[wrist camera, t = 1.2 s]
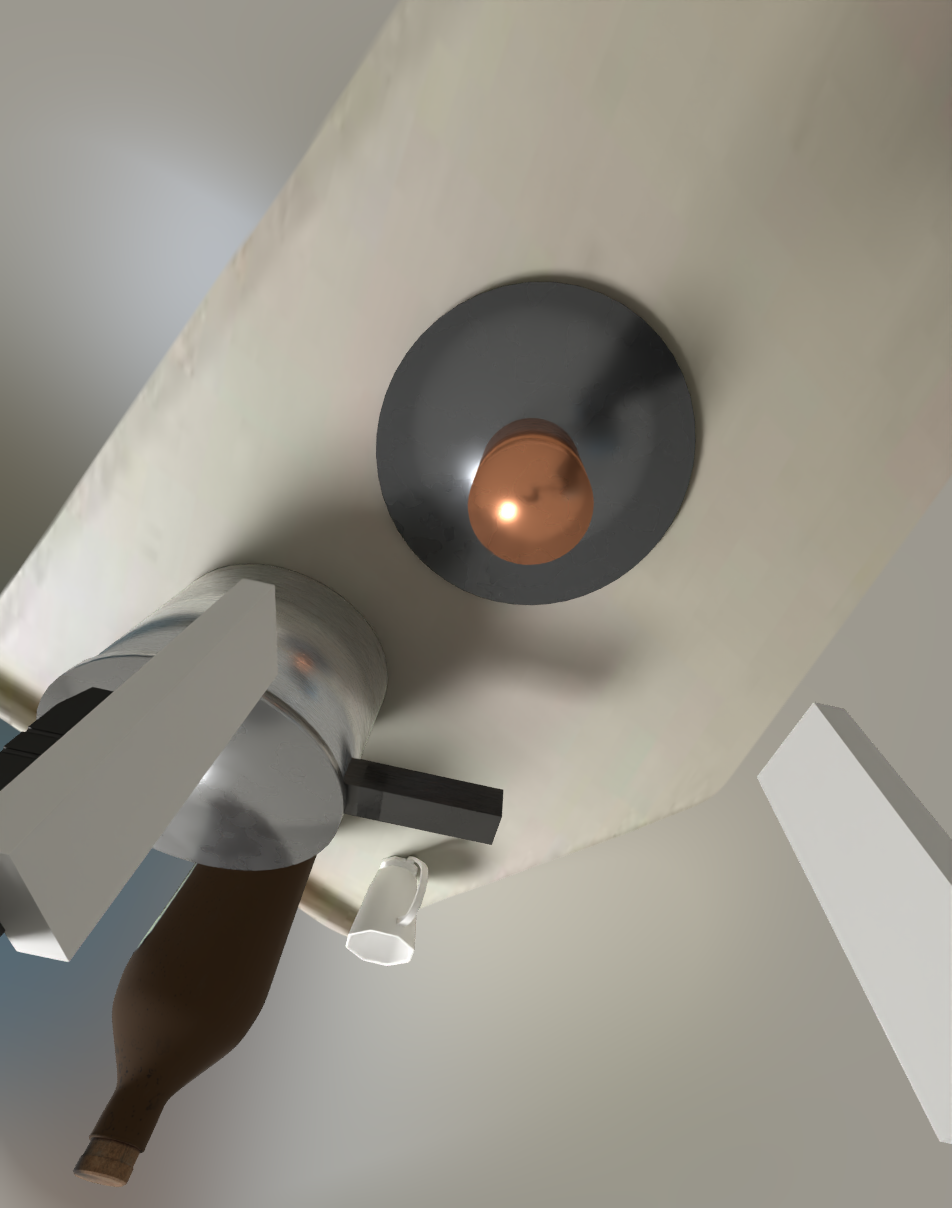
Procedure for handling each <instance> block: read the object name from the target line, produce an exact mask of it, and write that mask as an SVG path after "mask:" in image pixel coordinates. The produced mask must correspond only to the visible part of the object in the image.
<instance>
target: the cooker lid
mask: <svg viewBox="0 0 952 1208" xmlns="http://www.w3.org/2000/svg"><path fill="white" fill-rule="evenodd" d="M694 452H695V419H694V414H693V408H692V403H691V397H690V394H689V391H688V388H687V385H686V382H685V379H684V376H683V374H682V372H681V370H680V368H679V366H678V364H677V362H676V360H675V358H674V356H673V355H672V353H671V352H670V350H669V349H668V348H667V346H666V345H665V343H664V342H663V341H662V339H661V338H660V337H659V335H658V334H657V333H656V332H655V331H654V330H653V329H652V328H651V327H650V326H649V325H648V324H647V323H646V322H645V321H644V320H643V319H642V318H641V317H639V316H638V315H636V314H635V313H634V312H632V311H631V310H630V309H628V308H627V307H625V306H624V305H623V304H621V303H619V302H617V301H615V300H613V299H611V298H609V297H607V296H605V295H603V294H601V293H599V292H595V291H592V290H589V289H586V288H583V287H580V286H576V285H569V284H563V283H556V282H526V283H520V284H514V285H508V286H503V287H500V288H497V289H494V290H491V291H488V292H485V293H482V294H479V295H477V296H475V297H473V298H471V299H469V300H467V301H465V302H463V303H461V304H459V305H458V306H456V307H455V308H453V309H452V310H450V311H449V312H448V313H446V314H445V315H443V316H442V317H440V318H439V319H438V320H437V321H436V322H435V323H434V324H433V325H431V326H430V327H429V328H428V329H427V330H426V331H425V332H424V333H423V334H422V335H421V336H420V337H419V338H418V340H417V341H416V342H415V343H414V345H413V346H412V347H411V348H410V350H409V351H408V352H407V353H406V355H405V357H404V358H403V360H402V362H401V363H400V365H399V367H398V368H397V370H396V372H395V373H394V376H393V378H392V380H391V383H390V385H389V387H388V390H387V392H386V395H385V398H384V402H383V405H382V409H381V412H380V417H379V423H378V430H377V442H376V459H377V469H378V477H379V481H380V486H381V490H382V494H383V497H384V500H385V503H386V506H387V508H388V511H389V514H390V516H391V518H392V520H393V522H394V523H395V525H396V527H397V529H398V531H399V533H400V534H401V535H402V537H403V538H404V540H405V541H406V543H407V544H408V546H409V547H410V548H411V549H412V550H413V552H414V553H415V554H416V555H417V556H418V557H419V558H420V560H422V561H423V562H424V563H425V564H426V565H427V566H428V567H429V568H430V569H431V570H433V571H434V572H435V573H437V574H438V575H439V576H441V577H442V578H444V579H445V580H446V581H448V582H450V583H451V584H453V585H455V586H457V587H459V588H460V589H462V590H464V591H467V592H469V593H472V594H474V595H477V596H479V597H482V598H486V599H489V600H493V601H497V602H503V603H509V604H520V605H540V604H551V603H557V602H562V601H567V600H571V599H574V598H578V597H581V596H584V595H587V594H589V593H591V592H594V591H596V590H598V589H601V588H603V587H604V586H606V585H608V584H610V583H611V582H613V581H615V580H617V579H618V578H620V577H621V576H622V575H624V574H625V573H627V572H628V571H629V570H631V569H632V568H633V567H634V566H636V565H637V564H638V563H639V562H640V561H641V560H642V559H643V558H644V557H645V556H647V555H648V553H649V552H650V551H651V550H652V549H653V548H654V547H655V545H656V544H657V543H658V542H659V541H660V540H661V538H662V537H663V535H664V534H665V532H666V531H667V529H668V528H669V526H670V525H671V523H672V522H673V520H674V518H675V516H676V514H677V512H678V510H679V508H680V506H681V504H682V501H683V498H684V496H685V493H686V490H687V488H688V485H689V481H690V476H691V472H692V468H693V463H694Z"/></svg>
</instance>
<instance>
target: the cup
mask: <svg viewBox="0 0 952 1208" xmlns="http://www.w3.org/2000/svg"><path fill="white" fill-rule="evenodd" d="M414 862H416V863H418V865H419V867H420V869H421V870H420V880H419V884H418V888H417V879H416V874H417V871H418V867H417V866H416V865H415V864H414ZM427 882H428V868H427V865H426V864H425V863H424V862H422V861H421V860H419V859H417V858H415V857H412V856H409V857H408V858H406V859H405V858H401V857H397V856H392V857H389V858H385V859H382V863H381V866H380V869H379V870H378V872H377V874H376V875H375V877H374V879H373V881H372V883H371V884H370V886H369V888H368V891H367V893H366V895H365V898H364V900H363V902H362V905H361V907H360V909H359V912H358V914H357V916H356V918H355V920H354V923H353V925H352V927H351V930H350V932H349V935H348V939H347V943H346V948H348V949H349V950H350V951H352V952H353V953H354V954H355V955H356V956H358V957H359V958H360V959H362V960H364V961H368V962H372V963H377V964H381V965H385V966H390V965H395V964H401V963H407V962H410V959H411V957H412V954H413V952H414V948H415V931H416V914H417V912H418V910H419V908H420V906H421V904H422V900H423V897H424V894H425V891H426V886H427Z"/></svg>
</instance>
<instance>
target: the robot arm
mask: <svg viewBox="0 0 952 1208" xmlns="http://www.w3.org/2000/svg"><path fill="white" fill-rule="evenodd" d="M277 675H278V664H277V634H276V605H275V585H272V584H267V583H263V582H258V581H253V580H249V579H244V578H243V579H241V580H240V581H239V582H238V583H237V584H236V585H235V586H233V587H232V588H231V589H230V590H229V591H228V592H227V593H225V594H224V595H223V596H222V597H221V598H220V599H219V600H218V601H216V602H215V603H214V604H213V605H212V606H211V607H210V608H208V609H207V610H206V611H205V612H204V613H203V614H202V615H200V616H199V617H198V618H197V619H196V620H195V621H194V622H192V623H191V624H190V625H189V626H188V627H187V628H186V629H184V630H183V631H182V632H181V633H180V634H179V635H178V636H176V637H175V638H174V639H173V640H172V641H171V642H170V643H169V644H167V645H166V646H165V647H164V648H163V649H162V650H161V651H159V652H158V653H157V654H156V655H155V656H154V657H153V658H151V659H150V660H149V661H148V662H147V663H146V664H145V665H143V666H142V667H141V668H140V669H139V670H138V671H137V672H135V673H134V674H133V675H132V676H131V677H130V678H129V679H127V680H126V681H125V682H124V683H123V684H122V685H121V686H120V687H118V688H117V689H116V690H115V691H110V690H105V689H100V688H96V687H91V688H89V689H87V690H85V691H83V692H81V693H79V694H77V695H74V696H72V697H70V698H68V699H66V700H64V701H62V702H60V703H58V704H56V705H55V706H54V707H52V708H51V709H50V710H49V711H47V712H46V713H45V714H44V715H42V716H41V717H40V718H39V719H37V720H36V721H35V722H34V723H32V724H31V725H30V726H29V727H28V730H27V731H26V732H21V733H20V734H19V735H17V736H16V737H15V738H14V739H12V740H11V741H10V742H9V743H7V744H6V745H5V746H4V748H3V750H2V751H1V752H0V936H1V935H2V934H3V933H5V934H6V936H7V937H8V939H9V940H10V942H11V943H12V945H13V946H14V948H15V949H16V950H17V951H18V952H23V953H28V954H32V955H37V956H42V957H47V958H52V959H57V960H62V961H66V962H69V961H70V960H71V958H72V957H73V956H74V954H75V953H76V952H77V950H78V949H79V948H80V946H81V945H82V943H83V942H84V941H85V939H86V938H87V937H88V935H89V934H90V932H91V931H92V930H93V928H94V927H95V925H96V924H97V923H98V921H99V920H100V919H101V917H102V916H103V914H104V913H105V912H106V910H107V909H108V908H109V906H110V905H111V903H112V902H113V901H114V899H115V898H116V897H117V895H118V894H119V892H120V891H121V890H122V888H123V887H124V886H125V884H126V883H127V881H128V880H129V879H130V877H131V876H132V874H133V873H134V872H135V870H136V869H137V867H138V866H139V865H140V863H141V862H142V861H143V859H144V858H145V856H146V855H147V854H148V852H149V851H150V850H151V848H152V847H153V846H154V844H155V843H156V841H157V840H158V839H159V837H160V836H161V835H162V833H163V832H164V830H165V829H166V828H167V826H168V825H169V823H170V822H171V821H172V819H173V818H174V817H175V815H176V814H177V812H178V811H179V810H180V808H181V807H182V806H183V804H184V803H185V801H186V800H187V799H188V797H189V796H190V795H191V793H192V792H193V790H194V789H195V788H196V786H197V785H198V784H199V782H200V781H201V779H202V778H203V777H204V775H205V774H206V772H207V771H208V770H209V768H210V767H211V766H212V764H213V763H214V761H215V760H216V759H217V757H218V756H219V755H220V753H221V752H222V750H223V749H224V748H225V746H226V745H227V744H228V742H229V741H230V739H231V738H232V737H233V735H234V734H235V733H236V731H237V730H238V728H239V727H240V726H241V724H242V723H243V721H244V720H245V719H246V717H247V716H248V715H249V713H250V712H251V710H252V709H253V708H254V706H255V705H256V704H257V702H258V701H259V699H260V698H261V697H262V695H263V694H264V693H265V691H266V690H267V688H268V687H269V686H270V684H271V683H272V682H273V680H274V679H275V677H276V676H277ZM757 778H758V780H759V782H760V784H761V786H762V788H763V790H764V792H765V794H766V796H767V798H768V800H769V802H770V804H771V806H772V808H773V810H774V812H775V814H776V816H777V818H778V820H779V822H780V824H781V826H782V828H783V830H784V832H785V834H786V836H787V838H788V840H789V842H790V844H791V846H792V848H793V850H794V852H795V854H796V856H797V858H798V860H799V862H800V864H801V866H802V868H803V870H804V872H805V874H806V876H807V878H808V880H809V882H810V884H811V886H812V888H813V890H814V892H815V894H816V896H817V898H818V900H819V902H820V904H821V906H822V908H823V910H824V912H825V914H826V916H827V918H828V920H829V922H830V924H831V926H832V928H833V930H834V932H835V934H836V936H837V938H838V939H839V942H840V944H841V946H842V948H843V950H844V952H845V954H846V956H847V958H848V959H849V962H850V964H851V966H852V968H853V970H854V972H855V974H856V976H857V978H858V980H859V982H860V984H861V986H862V988H863V990H864V992H865V994H866V996H867V998H868V1000H869V1002H870V1004H871V1005H872V1008H873V1009H874V1012H875V1014H876V1015H877V1018H878V1020H879V1022H880V1023H881V1026H882V1028H883V1030H884V1032H885V1034H886V1036H887V1038H888V1039H889V1041H890V1044H891V1046H892V1048H893V1050H894V1052H895V1054H896V1056H897V1057H898V1059H899V1062H900V1064H901V1066H902V1067H903V1069H904V1071H905V1073H906V1075H907V1077H908V1079H909V1081H910V1083H911V1085H912V1087H913V1089H914V1091H915V1093H916V1095H917V1097H918V1099H919V1101H920V1103H921V1105H922V1107H923V1109H924V1111H925V1113H926V1115H927V1117H928V1119H929V1121H930V1123H931V1125H932V1127H933V1129H934V1131H935V1133H936V1135H937V1137H938V1139H939V1141H940V1142H945V1143H950V1144H952V839H951V838H950V837H949V836H948V834H947V833H946V832H945V831H944V829H943V828H942V827H941V826H940V825H939V824H938V822H937V821H936V820H935V818H934V817H933V816H932V815H931V814H930V812H929V811H928V810H927V809H926V808H925V806H924V805H923V804H922V803H921V801H920V800H919V799H918V798H917V797H916V796H915V794H914V793H913V792H912V790H911V789H910V788H909V787H908V786H907V784H906V783H905V782H904V781H903V780H902V778H901V777H900V776H899V775H898V773H897V772H896V771H895V770H894V768H893V767H892V766H891V765H890V764H889V762H888V761H887V760H886V759H885V758H884V756H883V755H882V754H881V753H880V752H879V750H878V749H877V748H876V747H875V745H874V744H873V743H872V742H871V740H870V739H869V738H868V737H867V736H866V734H865V733H864V732H863V731H862V729H861V728H860V727H859V726H858V725H857V723H856V722H855V721H854V720H853V718H852V717H851V716H850V715H849V714H848V713H847V711H846V710H845V709H843V708H838V707H834V706H829V705H824V704H820V703H815V702H814V703H813V704H812V705H811V706H810V708H809V709H808V710H807V712H806V713H805V714H804V716H803V717H802V718H801V720H800V721H799V722H798V724H797V725H796V726H795V728H794V729H793V730H792V731H791V733H790V734H789V735H788V737H787V738H786V740H785V741H784V742H783V743H782V745H781V746H780V747H779V749H778V750H777V751H776V752H775V754H774V755H773V756H772V758H771V759H770V760H769V762H768V763H767V764H766V766H765V767H764V768H763V770H762V771H761V772H760V774H759V775H758V776H757Z"/></svg>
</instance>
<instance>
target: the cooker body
mask: <svg viewBox="0 0 952 1208" xmlns="http://www.w3.org/2000/svg"><path fill="white" fill-rule="evenodd" d="M243 578H244V579H249V580H253V581H258V582H263V583H267V584H272V585H275V605H276V634H277V664H278V675H277V676H276V677H275V679H274V680H273V682H272V683H271V684H270V686H269V687H268V688H267V690H266V691H265V693H264V694H263V695H262V697H261V698H260V699H259V701H258V702H257V704H256V705H255V706H254V708H253V709H252V710H251V712H250V713H249V715H248V716H247V717H246V719H245V720H244V721H243V723H242V724H241V726H240V727H239V728H238V730H237V731H236V733H235V734H234V735H233V737H232V738H231V739H230V741H229V742H228V744H227V745H226V746H225V748H224V749H223V750H222V752H221V753H220V755H219V756H218V757H217V759H216V760H215V761H214V763H213V764H212V766H211V767H210V768H209V770H208V771H207V772H206V774H205V775H204V777H203V778H202V779H201V781H200V782H199V784H198V785H197V786H196V788H195V789H194V790H193V792H192V793H191V795H190V796H189V797H188V799H187V800H186V801H185V803H184V804H183V806H182V807H181V808H180V810H179V811H178V812H177V814H176V815H175V817H174V818H173V819H172V821H171V822H170V823H169V825H168V826H167V828H166V829H165V830H164V832H163V833H162V835H161V836H160V837H159V839H158V840H157V841H156V843H155V844H154V846H153V847H152V848H154V849H156V850H159V851H162V852H164V853H167V854H169V855H172V856H175V857H178V858H181V859H184V860H187V861H191V862H195V863H198V864H203V865H207V866H212V867H218V868H224V869H233V870H252V871H257V870H272V869H278V868H284V867H288V866H291V865H295V864H298V863H301V862H303V861H305V860H308V859H310V858H311V857H313V856H315V855H316V854H318V853H319V852H321V851H322V850H323V849H324V848H325V847H326V846H327V845H328V844H329V843H330V842H331V840H332V839H333V838H334V836H335V834H336V832H337V830H338V828H339V825H340V823H341V820H342V817H343V815H344V814H349V815H354V816H358V817H363V818H368V819H372V820H377V821H382V822H387V823H391V824H396V825H401V826H405V827H410V828H415V829H419V830H424V831H429V832H433V833H438V834H443V835H448V836H452V837H457V838H462V839H466V840H471V841H476V842H480V843H485V844H490V845H492V842H493V840H494V837H495V834H496V831H497V829H498V826H499V823H500V821H501V818H502V804H503V790H501V789H497V788H492V787H487V786H483V785H478V784H473V783H469V782H464V781H459V780H455V779H450V778H445V777H441V776H436V775H431V774H427V773H422V772H417V771H413V770H408V769H403V768H399V767H394V766H390V765H385V764H380V763H376V762H371V761H366V760H362V759H360V758H361V756H362V753H363V751H364V748H365V746H366V743H367V740H368V738H369V735H370V733H371V730H372V728H373V725H374V723H375V720H376V717H377V715H378V712H379V710H380V707H381V705H382V702H383V700H384V697H385V693H386V689H387V681H388V672H387V664H386V660H385V656H384V653H383V650H382V647H381V645H380V643H379V641H378V639H377V637H376V635H375V634H374V632H373V630H372V629H371V627H370V626H369V624H368V623H367V622H366V621H365V619H364V618H363V617H362V615H361V614H360V613H359V612H358V611H357V610H356V609H355V608H354V607H353V606H352V605H351V604H350V603H348V602H347V601H346V600H345V599H343V598H342V597H341V596H340V595H339V594H337V593H336V592H334V591H333V590H331V589H330V588H328V587H327V586H325V585H323V584H321V583H319V582H317V581H316V580H314V579H312V578H310V577H307V576H305V575H302V574H300V573H297V572H294V571H291V570H287V569H284V568H280V567H275V566H269V565H261V564H241V565H232V566H227V567H223V568H219V569H217V570H214V571H211V572H209V573H207V574H205V575H204V576H202V577H200V578H199V579H197V580H196V581H194V582H193V583H192V584H190V585H189V586H188V587H186V588H185V589H184V590H183V591H181V592H180V593H179V594H177V595H176V596H175V597H173V598H172V599H171V600H169V601H168V602H167V603H165V604H164V605H163V606H162V607H160V608H159V609H158V610H156V611H155V612H154V613H152V614H151V615H150V616H148V617H147V618H146V619H144V620H143V621H142V622H141V623H139V624H138V625H137V626H135V627H134V628H133V629H131V630H130V631H129V632H127V633H126V634H125V635H123V636H122V637H121V638H120V639H118V640H117V641H116V642H114V643H113V644H112V645H110V646H109V647H108V648H106V649H105V650H104V651H103V652H101V653H100V654H99V655H97V656H95V657H92V658H89V659H87V660H84V661H82V662H81V663H79V664H77V665H76V666H74V667H72V668H71V669H69V670H68V671H67V672H65V673H64V674H63V675H61V676H60V677H59V678H57V679H56V680H55V681H54V682H53V683H52V684H51V685H50V686H49V687H48V688H47V690H46V691H45V693H44V695H43V696H42V698H41V700H40V703H39V706H38V709H37V719H39V718H40V717H41V716H42V715H44V714H45V713H46V712H47V711H49V710H50V709H51V708H52V707H54V706H55V705H56V704H58V703H60V702H62V701H64V700H66V699H68V698H70V697H72V696H74V695H77V694H79V693H81V692H83V691H85V690H87V689H89V688H91V687H96V688H100V689H105V690H110V691H115V690H116V689H117V688H118V687H120V686H121V685H122V684H123V683H124V682H125V681H126V680H127V679H129V678H130V677H131V676H132V675H133V674H134V673H135V672H137V671H138V670H139V669H140V668H141V667H142V666H143V665H145V664H146V663H147V662H148V661H149V660H150V659H151V658H153V657H154V656H155V655H156V654H157V653H158V652H159V651H161V650H162V649H163V648H164V647H165V646H166V645H167V644H169V643H170V642H171V641H172V640H173V639H174V638H175V637H176V636H178V635H179V634H180V633H181V632H182V631H183V630H184V629H186V628H187V627H188V626H189V625H190V624H191V623H192V622H194V621H195V620H196V619H197V618H198V617H199V616H200V615H202V614H203V613H204V612H205V611H206V610H207V609H208V608H210V607H211V606H212V605H213V604H214V603H215V602H216V601H218V600H219V599H220V598H221V597H222V596H223V595H224V594H225V593H227V592H228V591H229V590H230V589H231V588H232V587H233V586H235V585H236V584H237V583H238V582H239V581H240V580H241V579H243ZM37 719H36V720H37Z"/></svg>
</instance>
